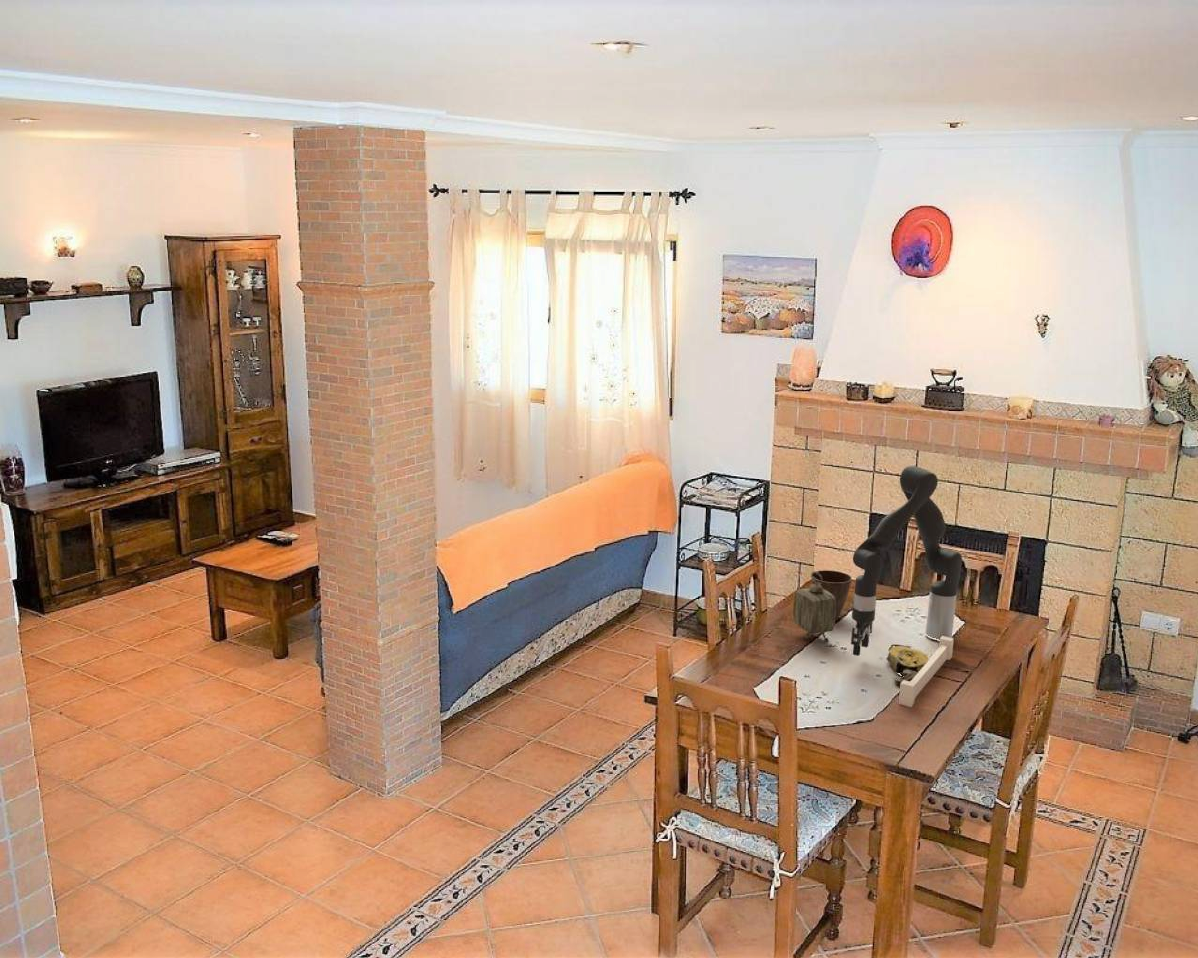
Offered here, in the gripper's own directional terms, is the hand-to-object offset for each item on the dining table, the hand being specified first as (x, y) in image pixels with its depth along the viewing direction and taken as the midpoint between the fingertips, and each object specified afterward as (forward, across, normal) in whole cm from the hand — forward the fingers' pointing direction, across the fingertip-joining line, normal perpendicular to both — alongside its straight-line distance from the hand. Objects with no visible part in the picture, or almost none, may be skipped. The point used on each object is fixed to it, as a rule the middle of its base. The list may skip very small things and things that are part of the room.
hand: (860, 650), depth 373 cm
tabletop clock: (+5, -12, -22) cm, 25 cm away
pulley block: (+5, -2, +15) cm, 16 cm away
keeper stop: (+4, 0, +23) cm, 24 cm away
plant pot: (+5, -37, -25) cm, 45 cm away
